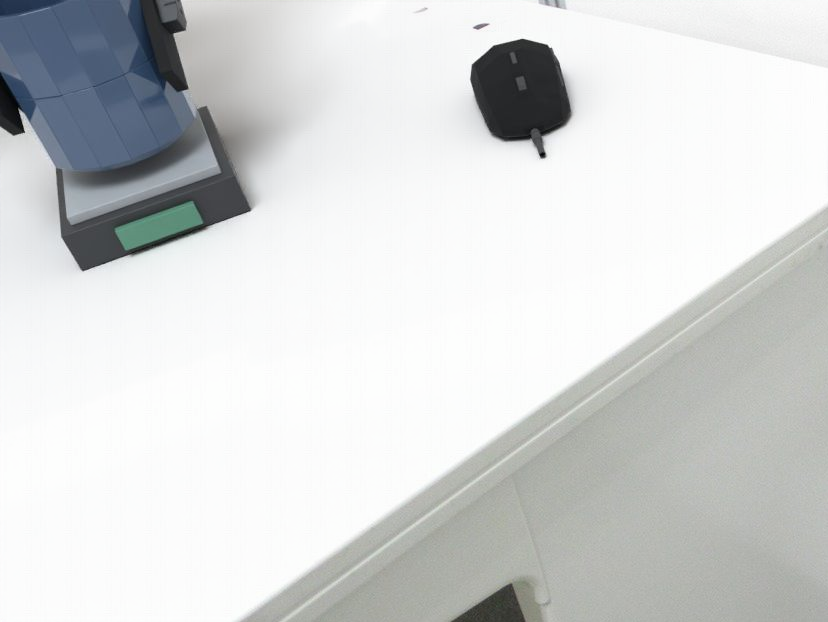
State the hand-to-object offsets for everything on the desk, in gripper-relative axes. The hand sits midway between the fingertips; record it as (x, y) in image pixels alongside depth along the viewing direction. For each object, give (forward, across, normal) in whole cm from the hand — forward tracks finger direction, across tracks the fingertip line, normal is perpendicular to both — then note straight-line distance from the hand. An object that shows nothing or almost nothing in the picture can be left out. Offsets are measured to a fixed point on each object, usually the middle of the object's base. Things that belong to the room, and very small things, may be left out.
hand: (91, 103), depth 66 cm
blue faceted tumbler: (+1, 0, -5) cm, 5 cm away
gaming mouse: (+5, -26, -6) cm, 27 cm away
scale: (+4, 0, -8) cm, 9 cm away
